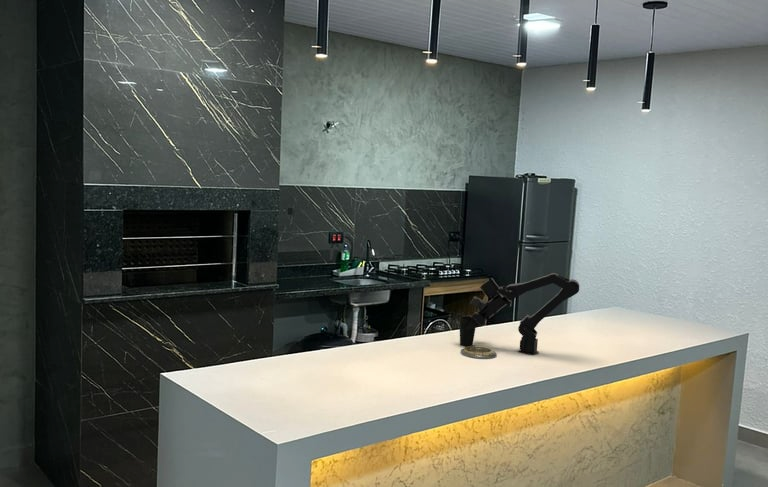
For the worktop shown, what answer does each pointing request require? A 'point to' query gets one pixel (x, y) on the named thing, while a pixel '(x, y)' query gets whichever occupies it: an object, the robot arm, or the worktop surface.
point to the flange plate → (478, 352)
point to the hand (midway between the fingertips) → (467, 327)
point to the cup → (466, 331)
